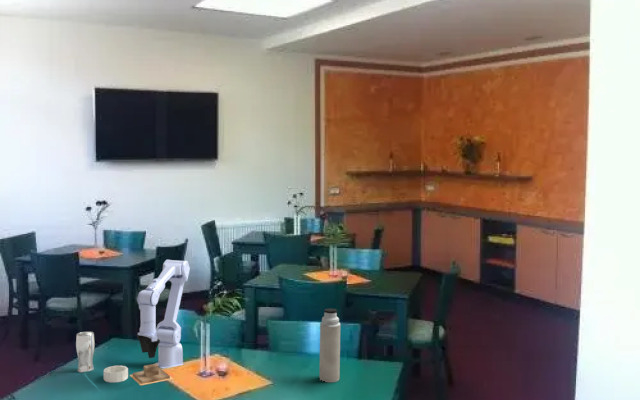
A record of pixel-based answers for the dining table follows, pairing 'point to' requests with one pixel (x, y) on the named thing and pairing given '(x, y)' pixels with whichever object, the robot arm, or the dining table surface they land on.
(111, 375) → the bowl
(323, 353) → the thermos bottle
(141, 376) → the lid
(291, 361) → the dining table surface
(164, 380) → the mat
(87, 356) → the beer glass
